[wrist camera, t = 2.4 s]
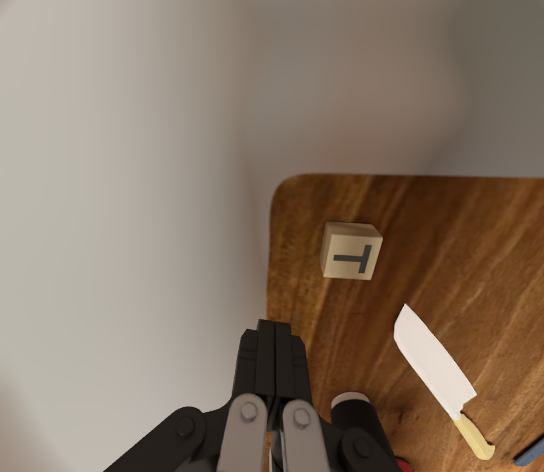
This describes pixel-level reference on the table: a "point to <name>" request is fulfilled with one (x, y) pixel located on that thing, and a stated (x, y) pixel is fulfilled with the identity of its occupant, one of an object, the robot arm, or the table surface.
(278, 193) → the table surface
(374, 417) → the dixie cup
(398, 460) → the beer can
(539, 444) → the wristwatch
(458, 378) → the knife
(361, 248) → the letter tile
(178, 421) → the robot arm
